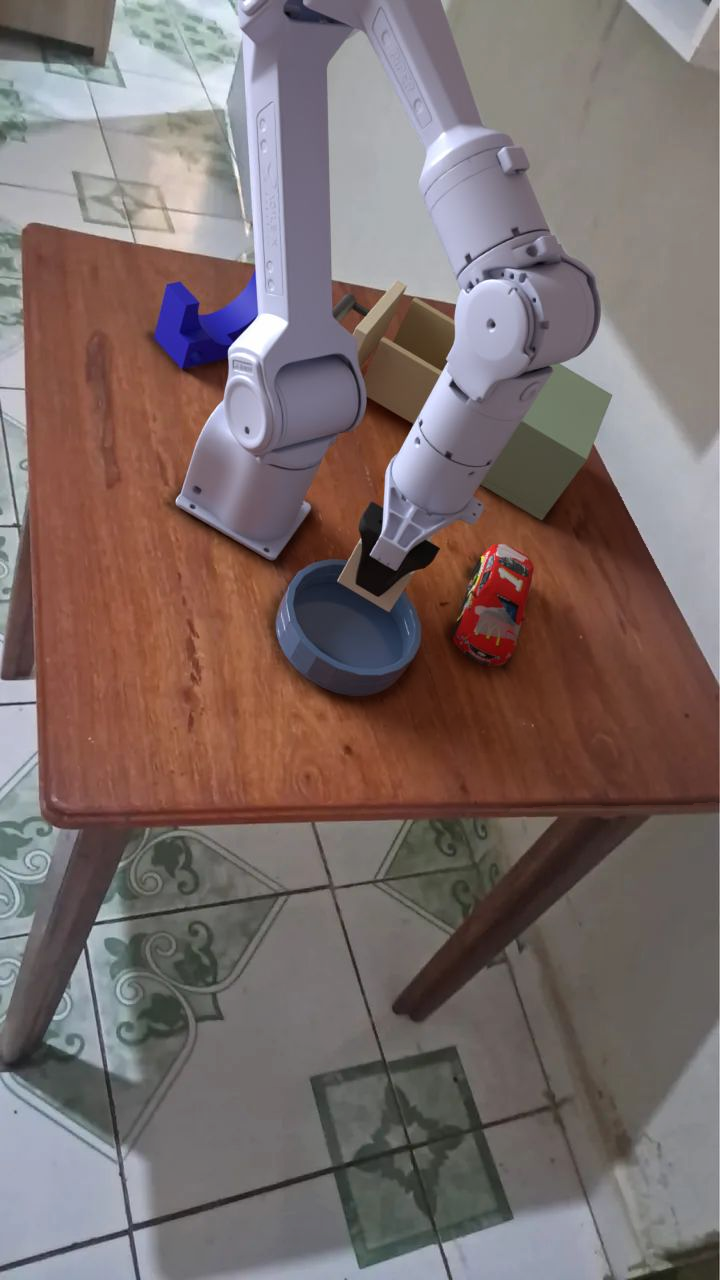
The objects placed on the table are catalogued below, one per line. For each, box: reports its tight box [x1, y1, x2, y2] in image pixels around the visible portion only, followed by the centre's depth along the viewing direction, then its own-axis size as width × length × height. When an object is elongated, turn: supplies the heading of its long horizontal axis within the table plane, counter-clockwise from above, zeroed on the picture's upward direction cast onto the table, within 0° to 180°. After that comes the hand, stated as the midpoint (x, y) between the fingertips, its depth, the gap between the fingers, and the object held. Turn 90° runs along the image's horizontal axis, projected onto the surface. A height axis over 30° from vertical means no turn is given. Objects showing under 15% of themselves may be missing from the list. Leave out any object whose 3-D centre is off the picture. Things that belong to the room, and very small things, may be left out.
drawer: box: [332, 279, 455, 425], centre depth 95 cm, size 17×11×7 cm, turn 67°
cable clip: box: [153, 268, 258, 370], centre depth 91 cm, size 12×4×6 cm, turn 133°
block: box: [337, 536, 434, 612], centre depth 70 cm, size 4×4×4 cm
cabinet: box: [479, 363, 613, 521], centre depth 96 cm, size 15×13×9 cm
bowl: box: [275, 558, 422, 697], centre depth 76 cm, size 11×11×3 cm
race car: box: [451, 543, 534, 667], centre depth 83 cm, size 13×5×4 cm, turn 161°
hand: (380, 567), depth 71 cm, fingers closed on block, 4 cm apart
